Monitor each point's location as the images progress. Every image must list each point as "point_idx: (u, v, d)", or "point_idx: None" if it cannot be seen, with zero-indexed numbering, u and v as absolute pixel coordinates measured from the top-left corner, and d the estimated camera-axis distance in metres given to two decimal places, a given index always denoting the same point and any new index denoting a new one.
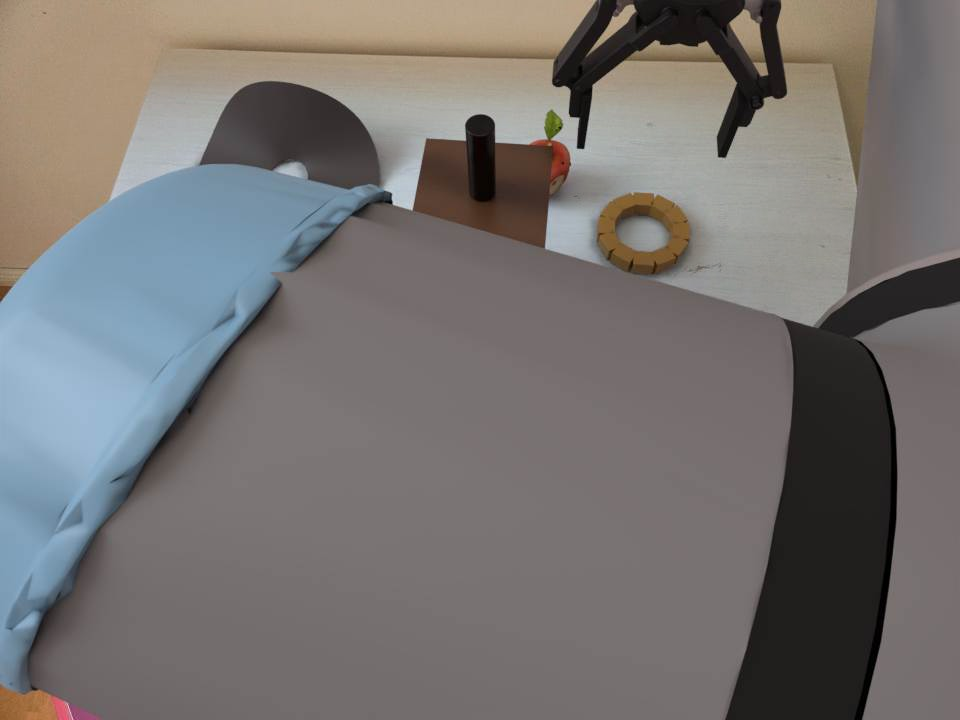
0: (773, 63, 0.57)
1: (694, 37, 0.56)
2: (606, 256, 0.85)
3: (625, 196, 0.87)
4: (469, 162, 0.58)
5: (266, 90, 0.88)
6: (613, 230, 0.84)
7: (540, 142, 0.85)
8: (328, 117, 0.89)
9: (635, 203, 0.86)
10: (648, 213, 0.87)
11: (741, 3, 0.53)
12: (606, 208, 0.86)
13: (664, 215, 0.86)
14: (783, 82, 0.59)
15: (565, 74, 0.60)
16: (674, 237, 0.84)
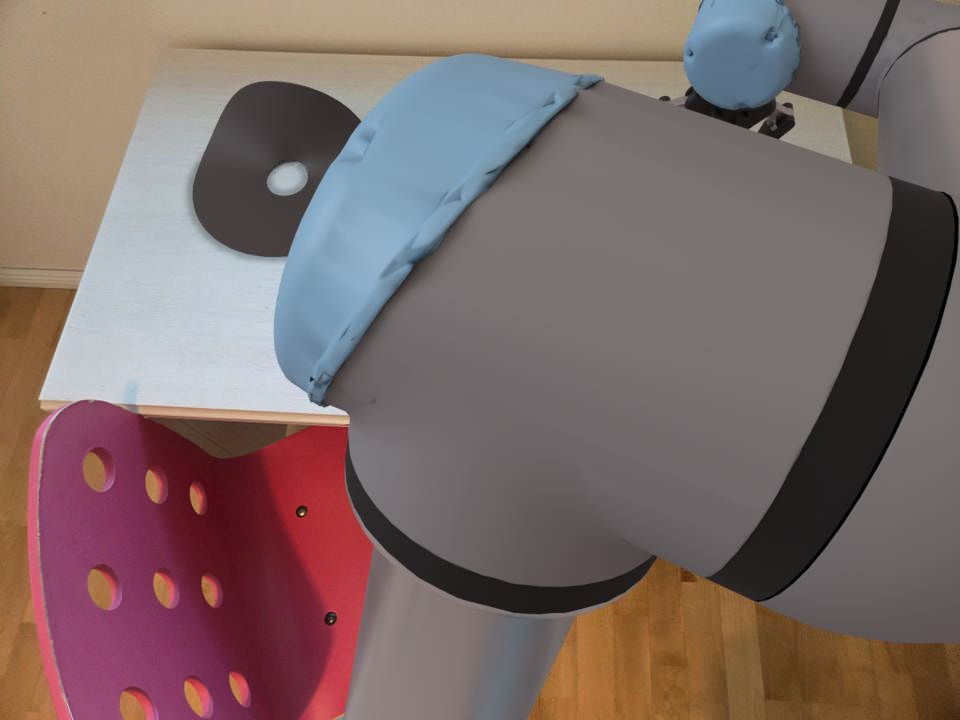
0: None
1: None
2: None
3: None
4: None
5: (266, 90, 0.88)
6: None
7: None
8: (328, 117, 0.89)
9: None
10: None
11: (773, 110, 0.65)
12: None
13: None
14: None
15: None
16: None
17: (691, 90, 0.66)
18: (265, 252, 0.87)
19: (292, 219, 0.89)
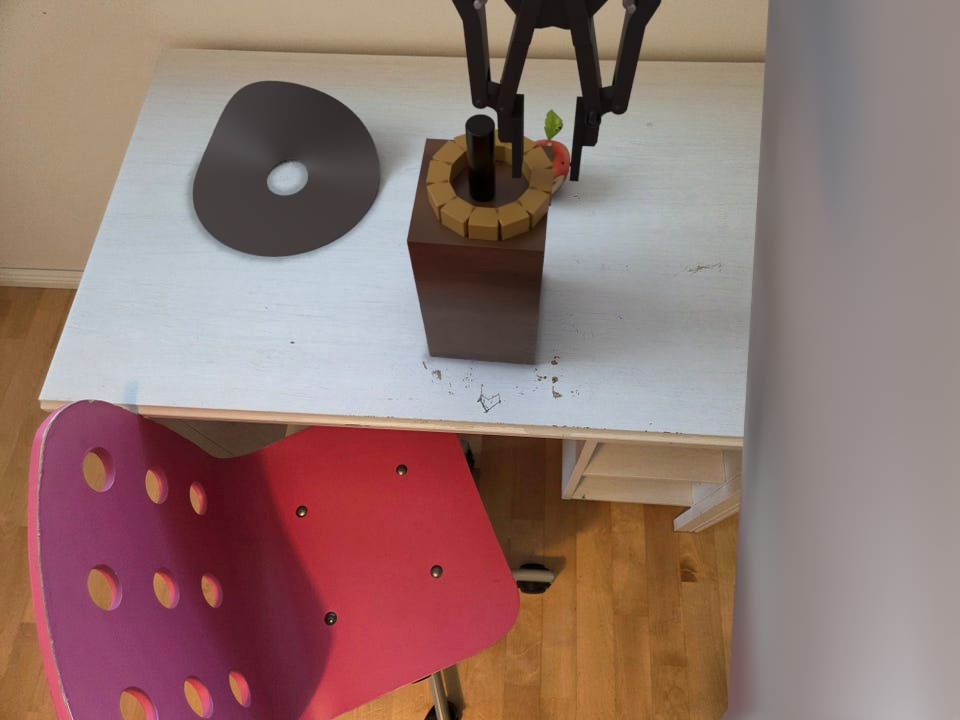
0: (626, 69, 0.47)
1: None
2: (437, 215, 0.60)
3: None
4: (469, 162, 0.58)
5: (266, 89, 0.88)
6: (447, 179, 0.60)
7: (540, 142, 0.85)
8: (328, 116, 0.89)
9: None
10: (503, 158, 0.63)
11: None
12: (442, 149, 0.62)
13: None
14: (627, 96, 0.50)
15: (480, 92, 0.51)
16: (530, 188, 0.60)
17: None
18: (265, 251, 0.87)
19: (292, 219, 0.89)
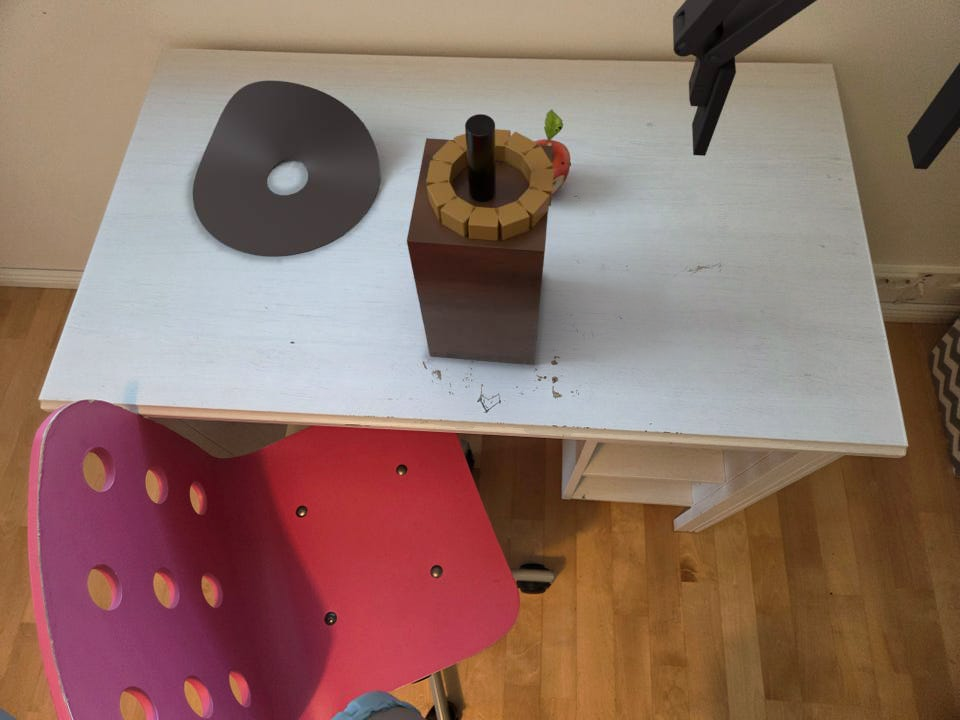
0: None
1: None
2: (437, 215, 0.60)
3: None
4: (469, 162, 0.58)
5: (266, 89, 0.88)
6: (447, 179, 0.60)
7: (540, 142, 0.85)
8: (328, 116, 0.89)
9: None
10: (503, 158, 0.63)
11: None
12: (442, 149, 0.62)
13: (522, 160, 0.62)
14: None
15: (699, 34, 0.37)
16: (530, 188, 0.60)
17: None
18: (265, 251, 0.87)
19: (292, 219, 0.89)
